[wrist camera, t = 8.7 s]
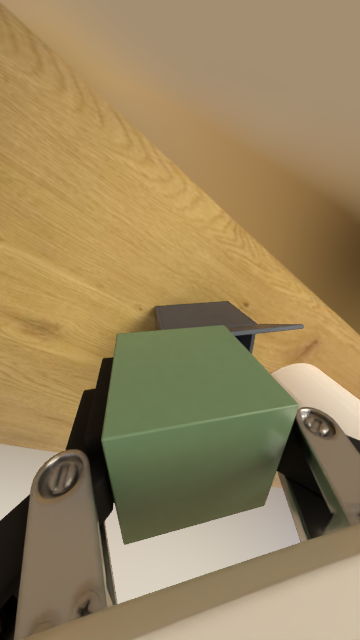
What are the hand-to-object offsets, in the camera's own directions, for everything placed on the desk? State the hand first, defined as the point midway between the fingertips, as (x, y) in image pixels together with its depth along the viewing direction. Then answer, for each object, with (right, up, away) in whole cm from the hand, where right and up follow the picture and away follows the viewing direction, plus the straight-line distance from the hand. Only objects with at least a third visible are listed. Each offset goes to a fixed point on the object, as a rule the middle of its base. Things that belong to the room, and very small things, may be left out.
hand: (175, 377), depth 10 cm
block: (0, 0, 0) cm, 0 cm away
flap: (+5, +1, +12) cm, 13 cm away
